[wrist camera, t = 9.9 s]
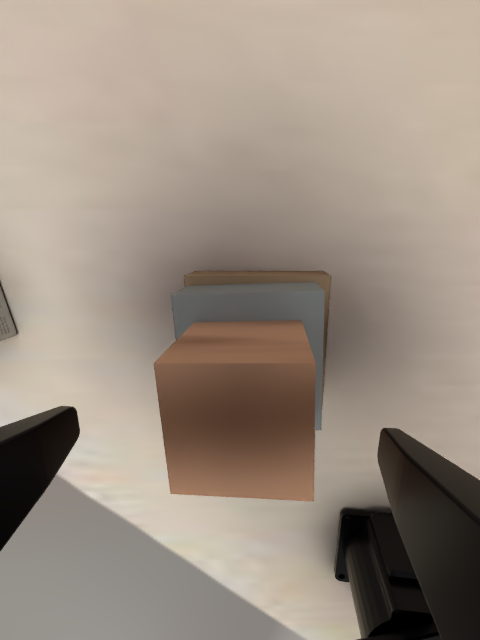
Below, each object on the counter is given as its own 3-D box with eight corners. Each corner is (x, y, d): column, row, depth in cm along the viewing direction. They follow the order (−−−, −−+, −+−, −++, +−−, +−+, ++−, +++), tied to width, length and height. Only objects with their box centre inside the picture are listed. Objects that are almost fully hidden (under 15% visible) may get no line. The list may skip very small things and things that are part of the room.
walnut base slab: (315, 386, 21) (321, 410, 18) (202, 381, 22) (191, 403, 19) (322, 270, 19) (331, 276, 16) (197, 270, 20) (184, 275, 17)
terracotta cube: (301, 417, 15) (313, 501, 10) (202, 415, 16) (170, 493, 11) (301, 320, 14) (315, 363, 9) (194, 321, 14) (153, 363, 10)
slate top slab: (313, 399, 18) (321, 430, 15) (198, 397, 19) (184, 426, 16) (316, 281, 16) (324, 290, 13) (188, 285, 17) (171, 294, 14)
